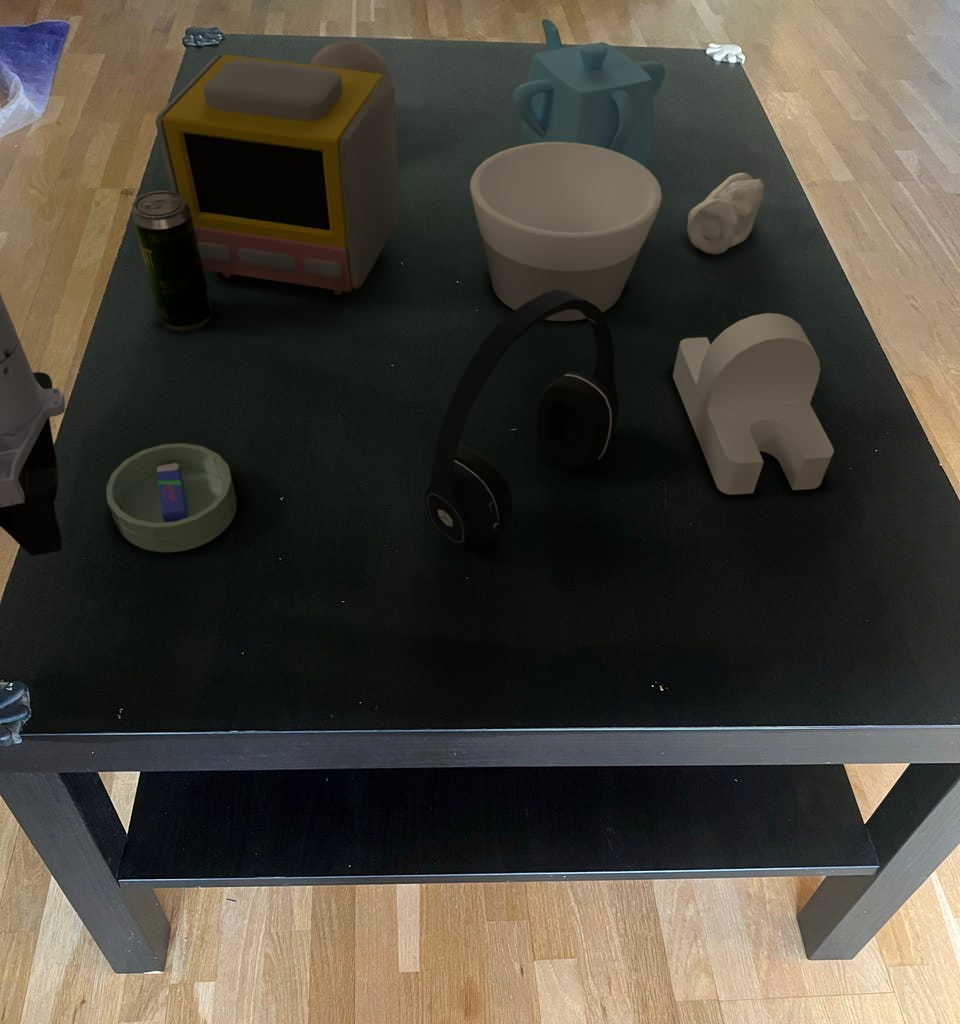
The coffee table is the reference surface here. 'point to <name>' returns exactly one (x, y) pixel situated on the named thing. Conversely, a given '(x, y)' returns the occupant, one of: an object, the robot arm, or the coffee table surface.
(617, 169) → the bowl
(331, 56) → the seashell
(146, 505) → the celadon bowl
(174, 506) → the eraser
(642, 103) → the teapot
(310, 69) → the alarm clock
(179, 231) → the beer can
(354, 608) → the coffee table surface
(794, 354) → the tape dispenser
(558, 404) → the earphone
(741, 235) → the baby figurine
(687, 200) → the coffee table surface
